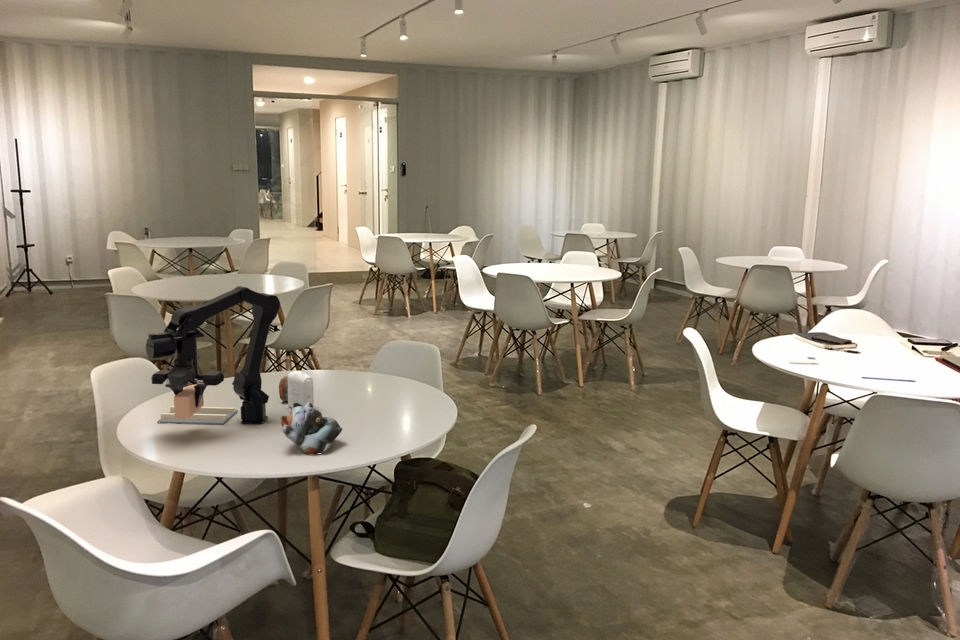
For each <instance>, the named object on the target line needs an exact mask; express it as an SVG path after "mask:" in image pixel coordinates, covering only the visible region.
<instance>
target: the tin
mask: <svg viewBox="0 0 960 640" xmlns="http://www.w3.org/2000/svg"><path fill="white" fill-rule="evenodd" d="M288 375H289V373H288V374H286V375H285V376H283V377H282V378H281V379H280V381H279V382H278V383H279V384H278V392H279V393H278V395H279V398H280V400H281V401H282V402H288Z"/></svg>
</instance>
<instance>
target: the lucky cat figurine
mask: <svg viewBox="0 0 960 640" xmlns="http://www.w3.org/2000/svg"><path fill="white" fill-rule="evenodd" d="M280 420H281V421H280V422H281V423H280V424H281V427H282V428H281V429H282V430H281V431H282V433H283V434H284V435H285V437H286V438H287V439H289V440H290V441H291V442H292V443H293V444H295V445H297V446H298V447H299V448H300V449H302V451H303V452H304V453H305V454H307V455H309V454H314V455H318V454H317V453H321V454H322V453H324V452H326V451H327V450H328V449H330V448H331V446H332V444H333V442H334V441H335V440H336V439H337V437H338V436H339V435H340V434H341V433H342V431H343V428H342V427H341V425H340V424H339V422H338V421H337V420H336V419H334V418H333V417H330V416H323V414H322V412H321V411H320V410H319V409H318V408H315V407H314V404H313V405H312V404H311V403H310V402H309V403H307V404H306V405H305V406H303V405H301V404H299V403H293V407H292V408H291V410H290V412H289V414H288V415H282V416H280Z"/></svg>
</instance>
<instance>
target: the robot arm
mask: <svg viewBox="0 0 960 640" xmlns="http://www.w3.org/2000/svg"><path fill="white" fill-rule="evenodd" d="M243 302H245V303H247V304H248V305H249V304H250V305H251V313H252V314H251V315H252V318H253V325H252V329H251V333H250V338H249V342H248V347H247V351H246V356H245V360H244V364H243V367H242V369H241V370H240V371H235V372H234V376H233V377H234V379H233V382H232V383H231V385H232V387H233V391H234V393H235V394H236V395H237V396H238V397H239V400H241V401H242V402H241V406H240V419H241V421H240V423H241V424H254V425H255V424H257V425H260V424H261V425H262V424H263V423H264V422H265V421H266V420H267V419H268V418H269V416H268V415H267V410H266V409H267V408H266V405H267V404H268V402H269V398H270V396H269V395H268V394H267V393H266V392H265V391H263V390H262V385H263V384H262V383H263V382H262V376H261V367H262V362H263V358H264V352H265V349H266V345H267V340H268V335H269V330H270V326H271V324H272V323H273V321H274V320H275V319H276V318H277V316H278V314H279V310H280V309H281V308H280V307H281V301H280V299H279V298H278V297H277V296H276V295H274V294H273V295H272V294H269V293H265V292H260V293H259V292H257V291H254V290H252V289H250V288H248V287H246V286H243V285H239V286H236V287H235V288H233V289H231V290H229V291H227V292H224V293H222V294H220V295H217V296H216V297H213V298H212V299H210V300H209V299H208V300H207V301H204V302H202V303H200V304H196V305H189V306H188V305H187V306H186V307H181V308H177V309H175V310H174V311H173V312H172V314H171V317H170V321H169V323H168V324H167V325H166V327H165V329H164V330H163V332H159V333H148V334H147V335H148V336H147V337H148V338H147V340H146V344H145V352H146V355H147V357H148V358H149V359H150V360H155V359H161V358H166V357H172V356H173V355H174V354H175V358H174V360H173V367H172V368H171V369H170V370H169V369H160V370H158V371H156V372H154V373H153V374H152V376H151V379H150V380H151V384H152V385H163V384H164V383H165V384H164V386H165V388H169V389H170V390H171V391H172V393H173V394H174V397H175V396H176V395H177V394H178V393H180V392H181V391H182V390H184V386H187V385H188V383H189V382H196V384H195V386H194V388H195V404H196V407H198V406H199V404H200V401H201V398H202V395H203V396H204V392H205V390H206V389H207V387H209V386H212V387H213V386H219V385H220V384H221V383H222V382H224V381H225V375H224V373H223V372H222V371H215V370H209V371H208V372H207V373H205V374H200V373H201V369H200V368H199V359H200V355H199V354H198V340H197V339H198V338H204V337H205V334H204V333H203V332H202V331H200V330H199V327H201V326H202V325H203V324H204V323H206V322H207V320H208V319H210V318H211V317H214V316H215V315H218V314H219V313H222V312H223V311H226V310H228V309H230V308H232V307H235V306H237V305H238V304H241V303H243Z"/></svg>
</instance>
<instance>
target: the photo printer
mask: <svg viewBox="0 0 960 640" xmlns="http://www.w3.org/2000/svg"><path fill="white" fill-rule="evenodd" d="M288 374H289V375H288ZM288 374H287V375H288V401H287V407H289V408H291V409H292V407H293V403H299V404H301V405H303V406H305V405H306V404H307V403H309V402H310V403H311V404H312V405H313V406H314V380H313V378H312V376H310V375H309V374H307V373H306V372H304V371H301V370H300V371H299V370H295V371H291V372H290V371H289V373H288Z"/></svg>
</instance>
